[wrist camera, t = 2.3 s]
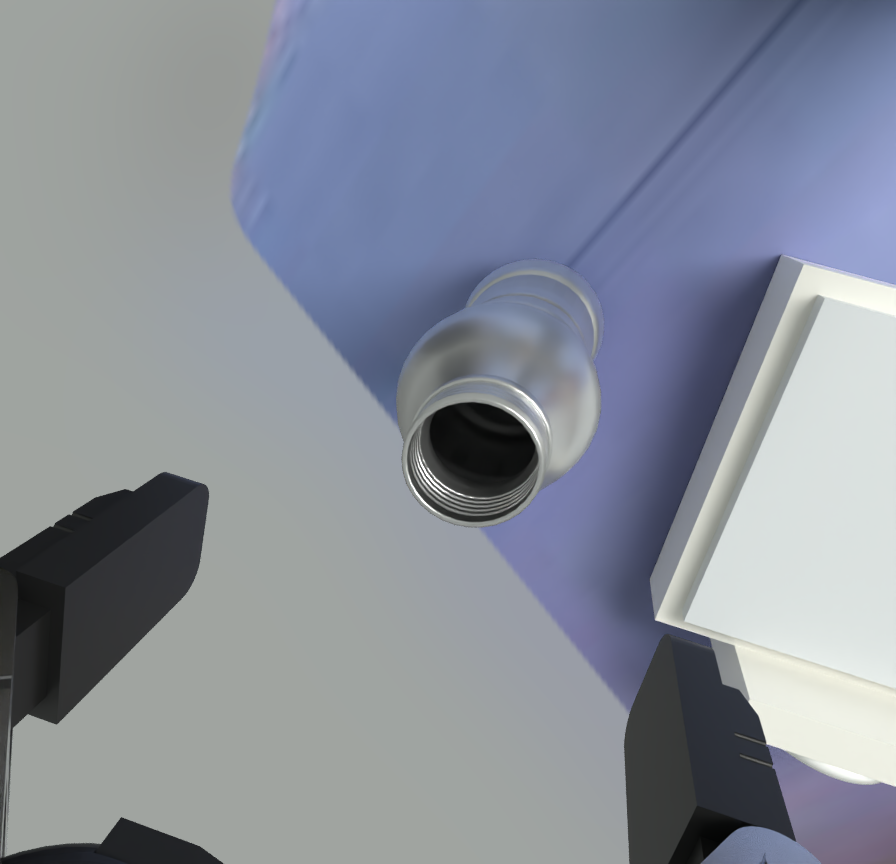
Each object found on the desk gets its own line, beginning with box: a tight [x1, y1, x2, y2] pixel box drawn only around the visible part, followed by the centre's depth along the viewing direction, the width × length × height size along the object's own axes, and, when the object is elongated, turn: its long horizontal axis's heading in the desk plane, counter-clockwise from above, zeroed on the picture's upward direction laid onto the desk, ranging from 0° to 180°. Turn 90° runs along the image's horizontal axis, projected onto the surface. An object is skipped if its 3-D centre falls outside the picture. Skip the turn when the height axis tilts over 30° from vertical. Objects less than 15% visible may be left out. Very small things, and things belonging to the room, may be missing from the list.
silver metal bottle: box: [396, 259, 604, 527], centre depth 28 cm, size 6×7×20 cm
